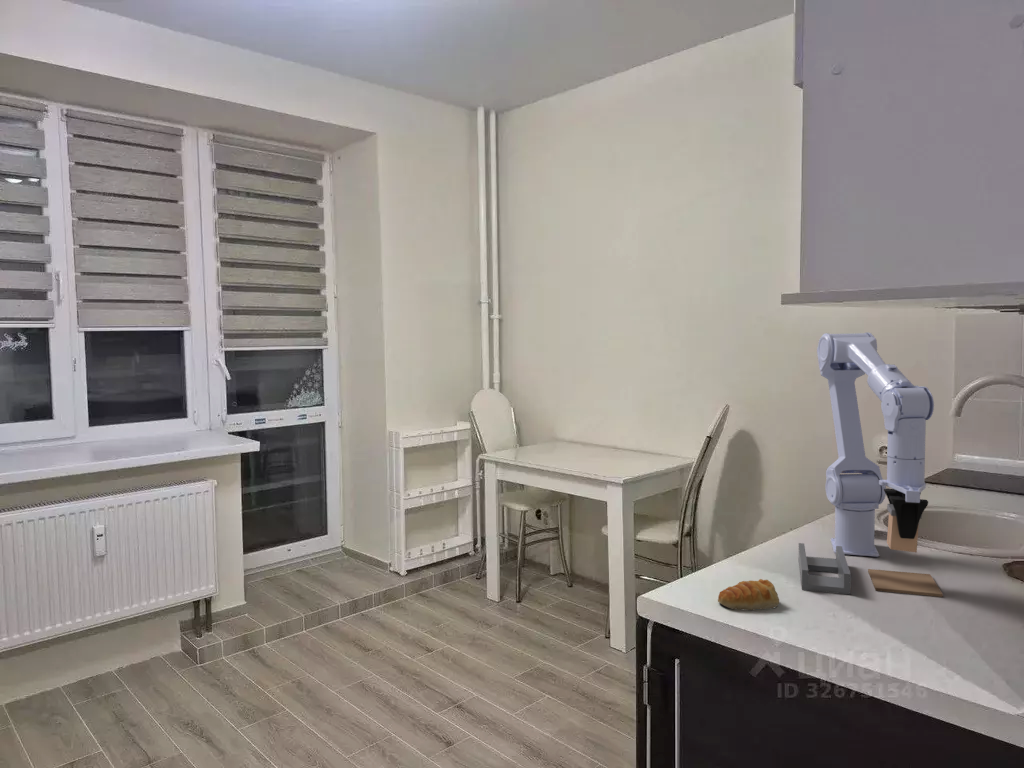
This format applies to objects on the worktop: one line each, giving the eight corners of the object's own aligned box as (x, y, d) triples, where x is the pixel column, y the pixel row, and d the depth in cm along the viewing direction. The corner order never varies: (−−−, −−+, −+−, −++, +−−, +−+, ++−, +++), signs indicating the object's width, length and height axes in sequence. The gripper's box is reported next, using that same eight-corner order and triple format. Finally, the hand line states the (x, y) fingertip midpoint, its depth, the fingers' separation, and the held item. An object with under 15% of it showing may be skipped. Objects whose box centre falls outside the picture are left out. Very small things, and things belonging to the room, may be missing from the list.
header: (798, 560, 137) (798, 543, 137) (841, 564, 134) (841, 546, 134) (801, 589, 122) (802, 569, 122) (850, 594, 120) (850, 574, 119)
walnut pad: (868, 571, 130) (868, 568, 130) (930, 576, 127) (930, 574, 127) (875, 590, 121) (875, 587, 121) (942, 597, 117) (942, 594, 117)
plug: (884, 542, 126) (887, 503, 126) (913, 545, 125) (916, 506, 124) (888, 549, 122) (891, 509, 121) (918, 553, 121) (921, 512, 120)
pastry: (731, 615, 112) (730, 592, 112) (709, 600, 119) (709, 578, 119) (783, 609, 115) (783, 586, 114) (759, 594, 121) (759, 572, 121)
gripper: (874, 449, 130) (873, 521, 131) (886, 463, 117) (885, 544, 118) (917, 450, 128) (916, 524, 129) (935, 465, 114) (933, 547, 115)
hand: (904, 533), depth 123 cm, fingers closed on plug, 4 cm apart
